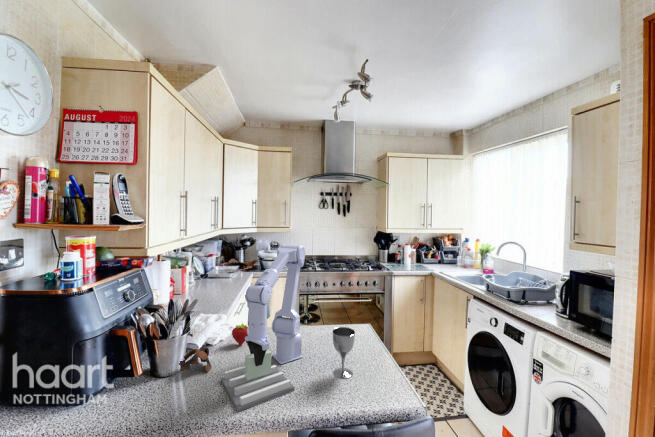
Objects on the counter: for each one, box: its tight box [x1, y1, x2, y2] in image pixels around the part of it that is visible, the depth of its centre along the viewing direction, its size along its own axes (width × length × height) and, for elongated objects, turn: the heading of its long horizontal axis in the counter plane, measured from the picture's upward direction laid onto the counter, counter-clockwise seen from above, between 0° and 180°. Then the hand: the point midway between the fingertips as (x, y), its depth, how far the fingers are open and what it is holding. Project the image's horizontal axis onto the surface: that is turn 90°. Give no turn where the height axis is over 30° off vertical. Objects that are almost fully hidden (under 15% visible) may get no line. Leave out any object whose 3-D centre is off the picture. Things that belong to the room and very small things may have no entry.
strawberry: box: [231, 322, 249, 346], centre depth 121 cm, size 6×8×10 cm
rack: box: [220, 362, 295, 413], centre depth 93 cm, size 18×18×3 cm
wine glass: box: [331, 326, 356, 380], centre depth 101 cm, size 8×8×15 cm
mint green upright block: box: [244, 349, 272, 381], centre depth 93 cm, size 8×2×7 cm, turn 125°
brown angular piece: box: [178, 345, 212, 374], centre depth 103 cm, size 12×10×8 cm
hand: (257, 363), depth 93 cm, fingers closed on mint green upright block, 2 cm apart
